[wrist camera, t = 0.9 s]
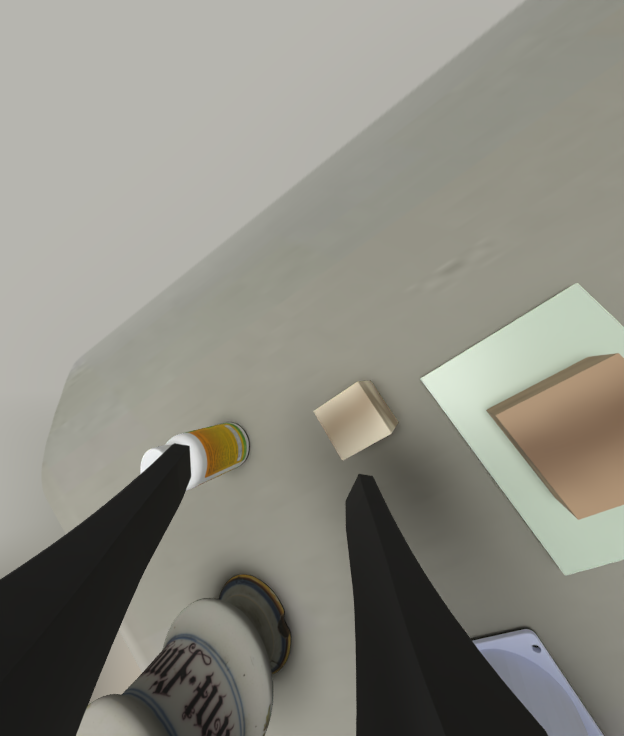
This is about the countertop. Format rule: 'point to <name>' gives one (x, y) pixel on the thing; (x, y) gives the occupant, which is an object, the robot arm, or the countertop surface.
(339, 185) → the countertop surface
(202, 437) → the supplement bottle
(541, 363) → the baseplate
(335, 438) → the maple brick
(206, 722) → the apothecary jar
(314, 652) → the countertop surface
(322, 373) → the countertop surface
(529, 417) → the base block
